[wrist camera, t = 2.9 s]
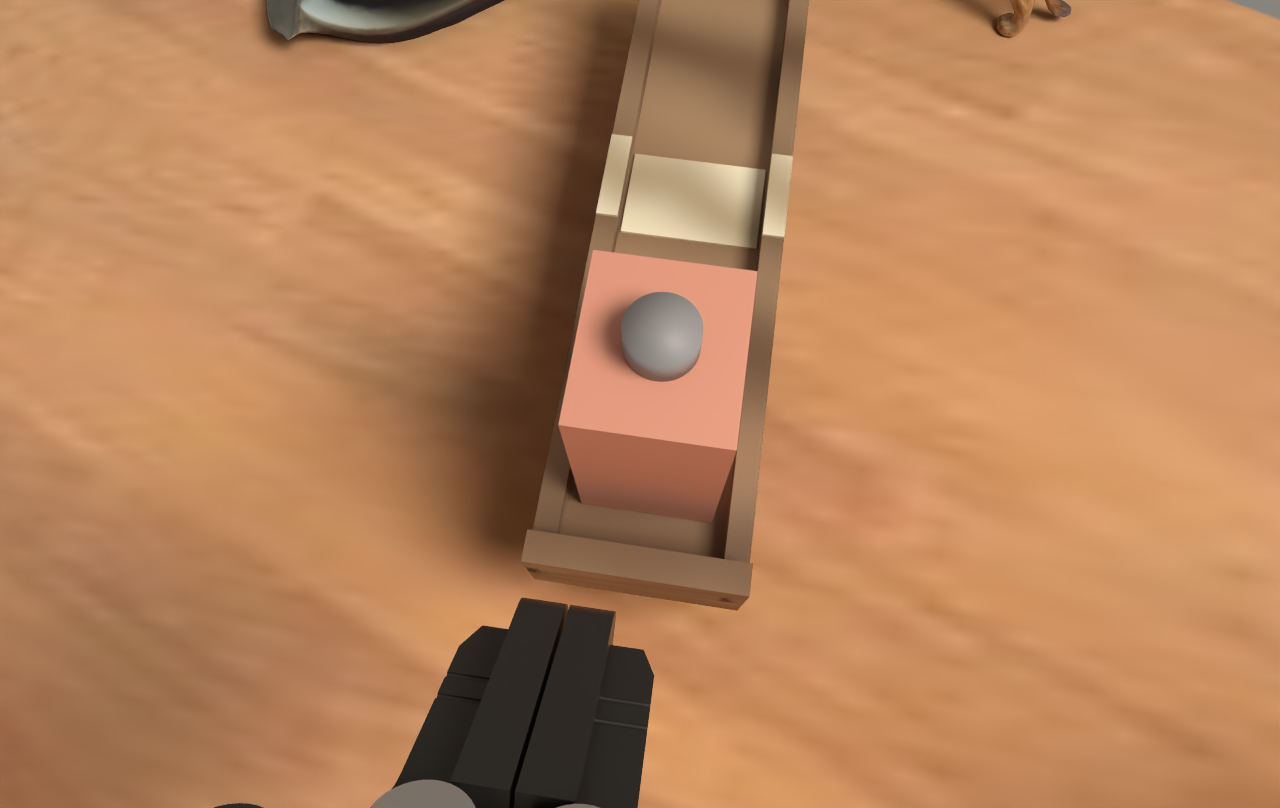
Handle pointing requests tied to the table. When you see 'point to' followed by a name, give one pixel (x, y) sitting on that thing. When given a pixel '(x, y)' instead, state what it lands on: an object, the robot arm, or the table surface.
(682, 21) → the beam
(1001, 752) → the table surface
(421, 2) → the salad plate
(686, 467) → the rider
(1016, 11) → the lion figurine
